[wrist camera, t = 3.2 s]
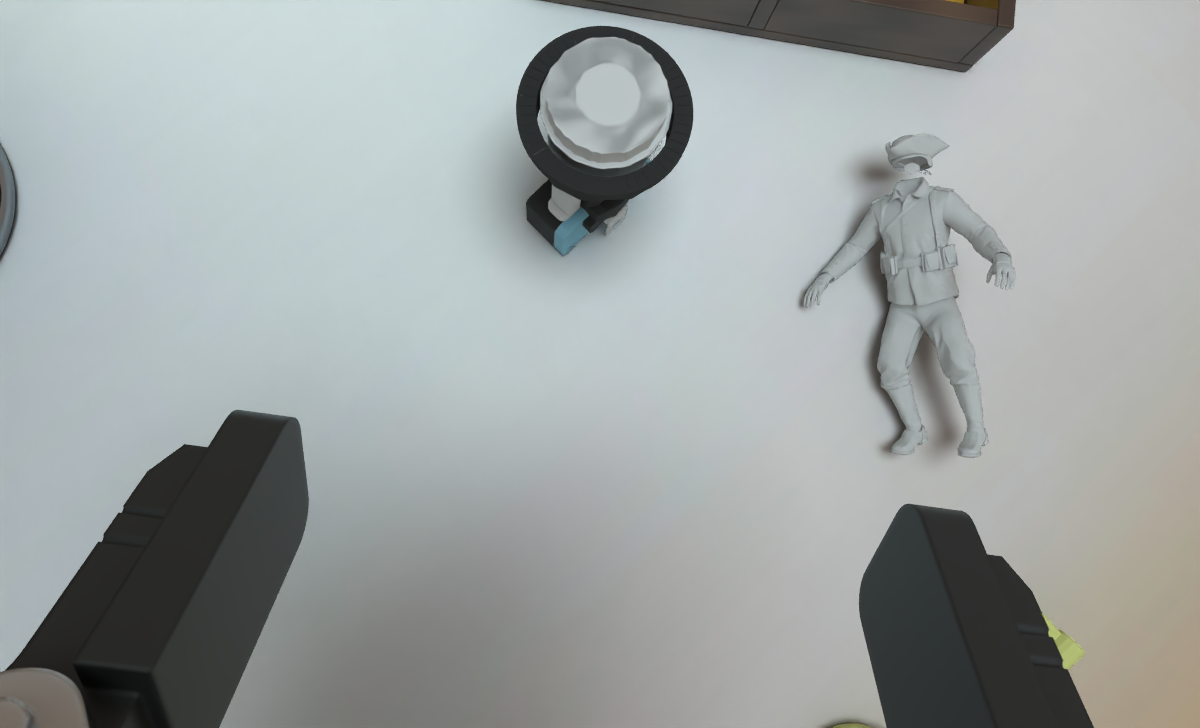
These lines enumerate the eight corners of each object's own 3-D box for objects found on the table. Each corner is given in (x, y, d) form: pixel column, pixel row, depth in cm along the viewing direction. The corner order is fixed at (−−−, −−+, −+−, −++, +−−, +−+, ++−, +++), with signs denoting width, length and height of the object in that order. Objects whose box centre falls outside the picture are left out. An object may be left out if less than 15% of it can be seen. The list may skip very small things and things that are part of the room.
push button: (610, 95, 34) (639, -57, 24) (701, 184, 33) (768, 68, 24) (496, 202, 33) (476, 90, 23) (588, 294, 33) (608, 221, 23)
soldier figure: (819, 455, 33) (772, 165, 31) (861, 415, 37) (822, 152, 34) (1026, 465, 29) (991, 121, 26) (1051, 417, 32) (1022, 110, 30)
